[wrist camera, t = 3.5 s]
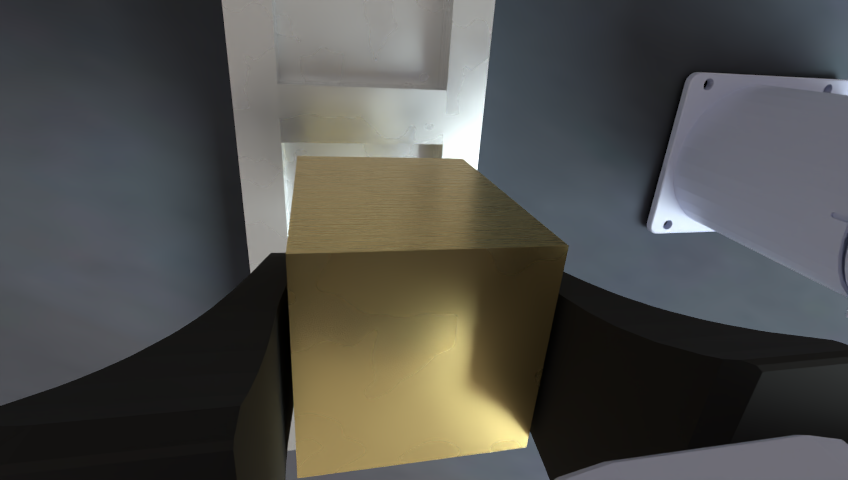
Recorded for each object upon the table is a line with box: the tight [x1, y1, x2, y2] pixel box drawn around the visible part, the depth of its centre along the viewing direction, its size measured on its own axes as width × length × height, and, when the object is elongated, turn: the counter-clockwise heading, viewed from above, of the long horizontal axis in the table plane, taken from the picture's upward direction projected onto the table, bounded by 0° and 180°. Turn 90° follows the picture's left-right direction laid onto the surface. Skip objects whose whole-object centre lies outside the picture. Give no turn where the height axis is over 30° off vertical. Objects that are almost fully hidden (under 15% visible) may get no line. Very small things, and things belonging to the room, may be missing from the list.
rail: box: [222, 0, 495, 451], centre depth 20 cm, size 9×24×2 cm, turn 176°
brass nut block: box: [286, 156, 568, 478], centre depth 11 cm, size 4×4×6 cm
